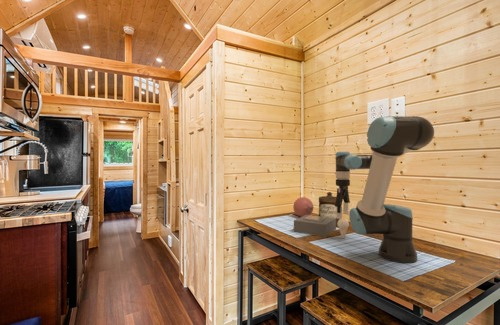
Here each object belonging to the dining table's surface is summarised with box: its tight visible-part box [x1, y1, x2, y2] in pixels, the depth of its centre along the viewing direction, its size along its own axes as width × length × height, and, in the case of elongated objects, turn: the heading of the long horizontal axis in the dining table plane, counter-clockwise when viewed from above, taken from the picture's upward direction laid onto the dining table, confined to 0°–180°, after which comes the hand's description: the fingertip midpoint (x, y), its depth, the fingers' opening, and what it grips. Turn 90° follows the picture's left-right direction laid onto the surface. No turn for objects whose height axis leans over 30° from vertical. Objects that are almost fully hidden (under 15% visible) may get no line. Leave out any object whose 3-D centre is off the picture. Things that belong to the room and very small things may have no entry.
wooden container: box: [318, 191, 340, 227], centre depth 179 cm, size 15×15×22 cm
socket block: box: [293, 214, 337, 238], centre depth 161 cm, size 20×20×7 cm
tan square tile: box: [304, 214, 326, 222], centre depth 161 cm, size 10×10×3 cm
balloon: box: [292, 196, 314, 218], centre depth 198 cm, size 15×20×15 cm
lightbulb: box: [337, 218, 350, 239], centre depth 144 cm, size 6×6×11 cm
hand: (342, 216), depth 145 cm, fingers open, 13 cm apart
